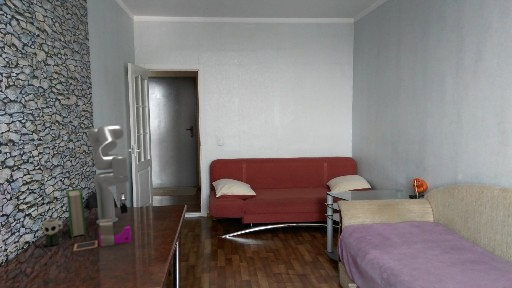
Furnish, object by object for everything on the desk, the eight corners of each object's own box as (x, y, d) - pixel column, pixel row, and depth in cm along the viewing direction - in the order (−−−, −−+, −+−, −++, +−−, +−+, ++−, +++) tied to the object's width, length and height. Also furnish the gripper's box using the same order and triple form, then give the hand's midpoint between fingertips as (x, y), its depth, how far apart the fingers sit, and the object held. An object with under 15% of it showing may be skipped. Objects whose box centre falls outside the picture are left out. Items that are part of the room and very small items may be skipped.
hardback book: (86, 235, 203) (82, 193, 201) (71, 237, 200) (67, 195, 198) (83, 227, 219) (80, 188, 217) (70, 229, 215) (66, 190, 213)
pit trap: (74, 244, 188) (74, 244, 188) (97, 241, 192) (97, 240, 192) (73, 251, 179) (73, 250, 179) (97, 247, 183) (97, 246, 183)
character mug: (39, 248, 185) (37, 224, 184) (42, 244, 192) (39, 220, 190) (63, 244, 189) (61, 220, 188) (65, 240, 195) (62, 217, 194)
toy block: (131, 238, 195) (130, 224, 194) (130, 241, 189) (129, 228, 188) (101, 242, 190) (100, 228, 190) (100, 246, 184) (98, 232, 184)
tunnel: (101, 239, 194) (100, 219, 193) (113, 237, 196) (112, 217, 195) (101, 247, 183) (99, 225, 182) (114, 244, 185) (112, 223, 184)
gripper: (113, 178, 197) (115, 208, 198) (113, 182, 181) (116, 216, 182) (127, 176, 199) (130, 206, 201) (129, 180, 183) (132, 213, 185)
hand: (123, 211), depth 191 cm, fingers open, 9 cm apart
